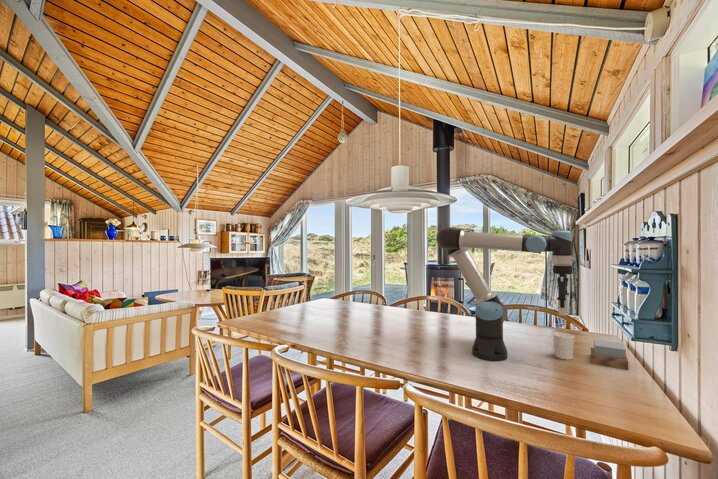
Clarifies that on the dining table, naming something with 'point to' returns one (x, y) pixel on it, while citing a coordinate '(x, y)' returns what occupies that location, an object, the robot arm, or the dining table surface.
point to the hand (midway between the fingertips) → (563, 312)
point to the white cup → (563, 345)
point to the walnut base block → (608, 361)
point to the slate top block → (609, 349)
